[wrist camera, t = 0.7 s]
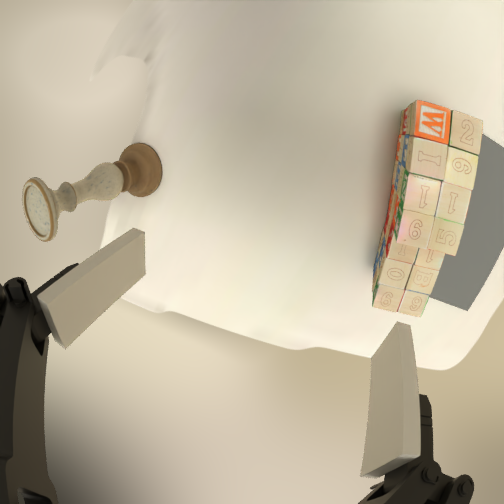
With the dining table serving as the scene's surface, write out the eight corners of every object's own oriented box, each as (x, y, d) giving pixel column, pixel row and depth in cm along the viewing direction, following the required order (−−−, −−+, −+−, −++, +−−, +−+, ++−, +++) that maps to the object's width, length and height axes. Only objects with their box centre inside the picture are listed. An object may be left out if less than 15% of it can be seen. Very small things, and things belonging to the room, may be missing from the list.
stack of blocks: (413, 278, 34) (422, 336, 24) (372, 268, 36) (367, 324, 26) (447, 122, 24) (484, 119, 14) (400, 109, 26) (416, 97, 16)
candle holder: (123, 139, 39) (16, 169, 22) (165, 147, 38) (50, 181, 20) (121, 188, 44) (24, 234, 26) (160, 201, 42) (59, 258, 25)
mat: (464, 124, 23) (466, 124, 23) (530, 168, 21) (532, 169, 21) (402, 285, 35) (403, 287, 35) (466, 308, 33) (467, 310, 32)
